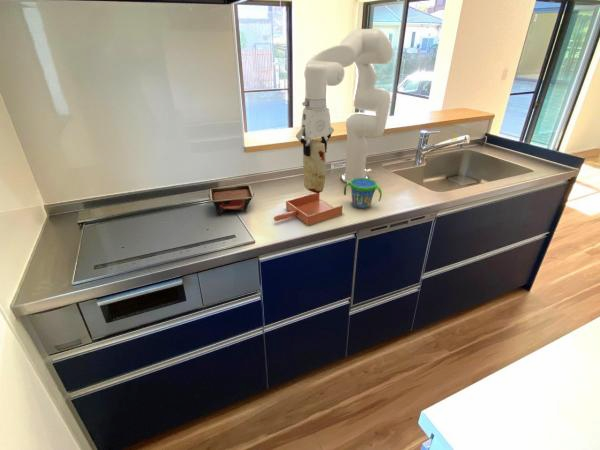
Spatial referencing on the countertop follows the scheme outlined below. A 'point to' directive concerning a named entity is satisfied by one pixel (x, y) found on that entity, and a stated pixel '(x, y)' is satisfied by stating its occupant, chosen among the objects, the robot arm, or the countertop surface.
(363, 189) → the snack cup
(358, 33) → the robot arm
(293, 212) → the scoop
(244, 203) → the baking dish
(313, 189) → the food model
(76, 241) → the countertop surface
